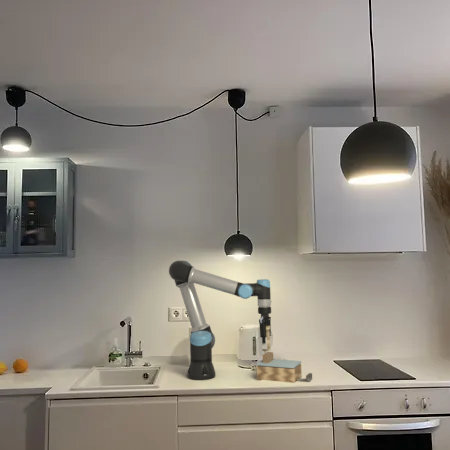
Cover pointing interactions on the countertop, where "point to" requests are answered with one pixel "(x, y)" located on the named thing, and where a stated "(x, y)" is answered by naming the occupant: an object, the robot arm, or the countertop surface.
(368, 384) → the countertop surface
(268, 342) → the beige wooden tall block
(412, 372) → the countertop surface
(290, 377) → the toolbox
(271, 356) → the lid
